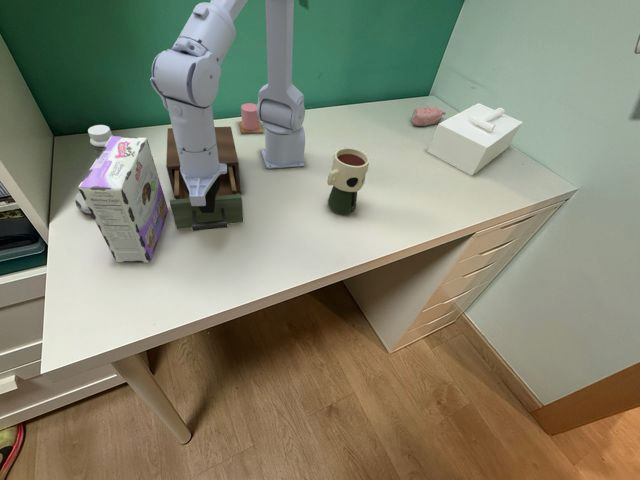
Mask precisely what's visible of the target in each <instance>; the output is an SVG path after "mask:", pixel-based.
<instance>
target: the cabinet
mask: <svg viewBox="0 0 640 480" xmlns="http://www.w3.org/2000/svg"><path fill="white" fill-rule="evenodd" d="M214 127H215V136H216V143H217V152H218V160H219V163H222V164H226V165H227V166H232V168H233V174H234V179H235V185H236V190H237V194H242V193H241V192H242V191H241V180H240V163H239V158H238V154H237V153H238V152H237V147H236V144H235V140H234V134H233V130H232V127H231V126H214ZM165 162H166V163H165V167H166V172H167V175H168V179H169V182H170V186H171V191H172V194H173V198H174V199H175V196H174V191H175V169H180V166H181V165H180V160H179V156H178V151H177V146H176V142H175V138H174V133H173V129H172V127H168V128H167V137H166V161H165Z"/></svg>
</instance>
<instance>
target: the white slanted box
mask: <svg viewBox="0 0 640 480" xmlns="http://www.w3.org/2000/svg"><path fill="white" fill-rule="evenodd" d="M505 113H506V109H504V108H503V107H497V108H496V109H494V108H491V107H489V106H486V105H485V104H482V103H479V102H478V103H476V104H473V105H472V106H470V107H468V108H466V109H464V110H462V111H460V112H458V113H457V114H455V115H452V116H451V117H448V118H446V119H445V120H443V121H441V122H438V123H437V126H436V128H435V131H434V133H433V136H432V139H431V141H430V143H429V146H428V148H427V152H426V153H428V154H431V155H432V156H434V157H436V158H437V159H440V160H442V161H444V162H445V163H446V164H448V165H451V166H453V167H454V168H456V169H458V170H460V171H462V172H464V173H466V174H467V175H469V176H471V177H473V176H474V175H475V174H476V173H478V172H479V171H480V170H482V169H483V168H484V167H485V166H486V165H488V164H489V163H490V162H491V161H493V160H494V159H495V158H497V157H498V156H500V155H501V154H502V153H503V152H505V151H506V150H507V149H508V148H509V146H510V145H511V143H512V141H513V139H514V138H515V136H517V133H518V131H519V130H520V128H521V126H522V125H523V123H524V122H523V121H522V120H519V119H516V118H514V117H513V116H509V115H507V114H505Z"/></svg>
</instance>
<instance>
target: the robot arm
mask: <svg viewBox="0 0 640 480" xmlns="http://www.w3.org/2000/svg"><path fill="white" fill-rule="evenodd" d="M248 1H249V0H210V1H209V2H205V1H204V2H203V1H202V2H200V3H198V4H196V5H195V6H194V8H193V10H192V12H191V14H190V16H189V18H188V20H187V21H186V22H185V25H184V26H183V28H182V29H181V32H180V33H179V35H178V37H177V39H176V40H175V42H174V43H173V45H172V47H171V48H168V49H166V50H163V51H161V52H159V53H158V54H157V55H156V56H155V57H154V58H153V61H152V63H151V77H150V79H149V81H150V84H151V87H152V89H153V91H154V92H155V93H156V94H157V95H158V96H159V97H160V98H161V101H162V104H163V108H165V110H167V111H168V115H169V119H170V124H171V128H172V129H173V133H174V138H175V142H176V146H177V151H178V156H179V160H180V165H181V166H180V171H181V175H182V177H183V179H184V182H183V187H184V190H185V191H186V192H187V193H189V194H190V195H189V197H190V201H191V206H198V207H199V209H200V211H201V212H202V213H213V212H214V209H215V197H216V194H217V192H218V191H219V188H220V179H221V174H226V173H227V165H226V164H222V163H219V160H218V152H217V143H216V136H215V127H216V126H215V120H214V119H215V118H214V111H213V105H212V104H213V102H214V101H215V99H216V98H217V96H218V92H219V87H220V86H219V85H220V78H221V76H222V68H221V66H222V64H223V62H224V60H225V57H226V56H227V54H228V53H229V51H230V48H231V47H232V45H233V43H234V41H235V39H236V37H237V30H236V27H235V24H234V22H235V20H236V19H237V17H238V16H239V14H240V13H241V12H242V10H243V9H244V7H245V5H246V4H247V3H248ZM294 7H295V0H265V27H266V30H265V31H266V32H265V33H266V60H267V66H266V67H267V83H266V84H265V85H263V86H262V87H261V88H260V89H259V91H258V93H257V94H258V95H257V103H256V105H257V116H258V118H259V121H260V122H261V127H264V148H265V149H264V148H263V149H261V155H262V158H263V161H264V165H265V168H266V169H281V168H282V169H283V168H285V169H286V168H297V167H300V168H301V167H304V166H305V163H304V159H305V150H306V149H305V148H306V131H305V128H304V126H303V123H304V122H305V121H304V120H305V115H306V107H305V98H304V94H303V93H302V92H301V91H300V90H299V88H297V87H296V86H295V85H294V84H293V51H294V50H293V48H294V13H295V12H294V10H295V9H294Z"/></svg>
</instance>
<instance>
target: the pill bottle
mask: <svg viewBox="0 0 640 480" xmlns="http://www.w3.org/2000/svg"><path fill="white" fill-rule="evenodd" d="M87 133H88V136H89V138H90V139H89V142H90V145H91V148H92V150H93V152H94V154H95V156H96V159H97V158H98V156H99V154H100V153H101V151H102V150H103V148H104V147H105V145H106V143H107V142H108V140H109V139H110V137H111V136H114V135H113V134H112V130H111V128H110V126H108V125H105V124H95V125H93V126H90V127H89V128H88V129H87Z"/></svg>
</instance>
